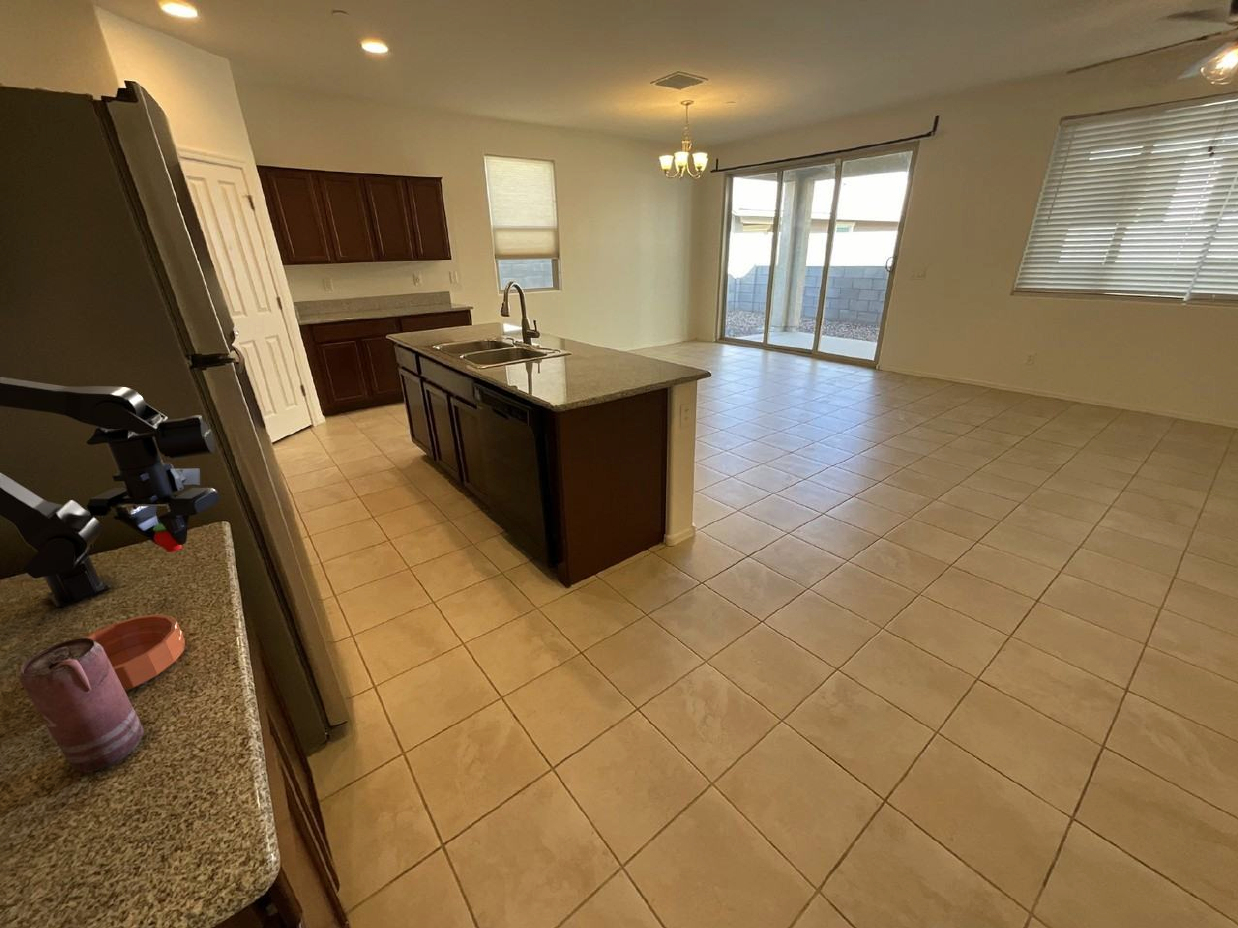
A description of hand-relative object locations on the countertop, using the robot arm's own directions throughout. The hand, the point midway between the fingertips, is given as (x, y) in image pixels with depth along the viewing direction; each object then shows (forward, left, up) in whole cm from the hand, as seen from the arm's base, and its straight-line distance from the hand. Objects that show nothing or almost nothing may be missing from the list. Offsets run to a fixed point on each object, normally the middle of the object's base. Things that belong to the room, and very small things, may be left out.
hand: (172, 543), depth 90 cm
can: (+38, -20, -6) cm, 43 cm away
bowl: (+23, -14, -6) cm, 27 cm away
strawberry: (0, 0, -1) cm, 1 cm away
